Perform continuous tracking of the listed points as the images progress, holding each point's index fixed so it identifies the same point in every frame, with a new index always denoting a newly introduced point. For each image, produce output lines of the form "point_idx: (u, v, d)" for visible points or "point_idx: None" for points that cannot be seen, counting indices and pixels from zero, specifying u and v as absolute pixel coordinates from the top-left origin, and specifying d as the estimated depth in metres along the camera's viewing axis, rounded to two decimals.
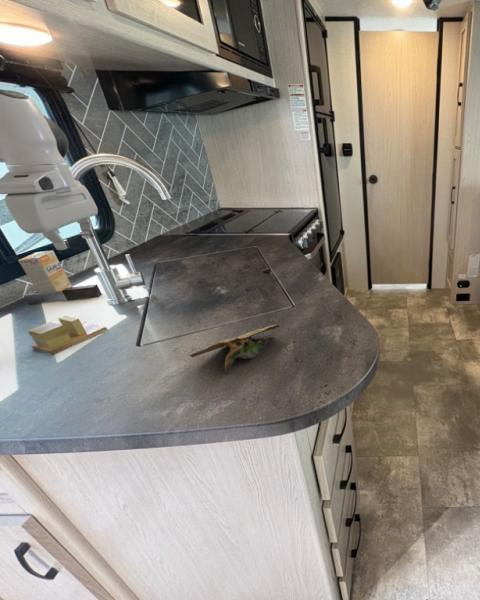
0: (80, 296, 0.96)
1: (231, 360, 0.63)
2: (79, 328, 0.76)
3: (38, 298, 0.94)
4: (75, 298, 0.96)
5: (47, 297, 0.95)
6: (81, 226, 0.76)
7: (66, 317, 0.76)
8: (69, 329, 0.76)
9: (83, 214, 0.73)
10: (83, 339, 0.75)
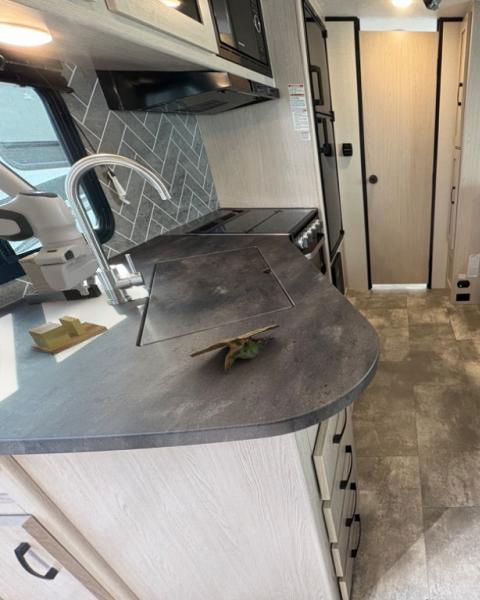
0: (80, 296, 0.96)
1: (231, 360, 0.63)
2: (79, 328, 0.76)
3: (38, 298, 0.94)
4: (75, 298, 0.96)
5: (47, 297, 0.95)
6: (87, 281, 0.98)
7: (66, 317, 0.76)
8: (69, 329, 0.76)
9: (94, 270, 0.98)
10: (83, 339, 0.75)
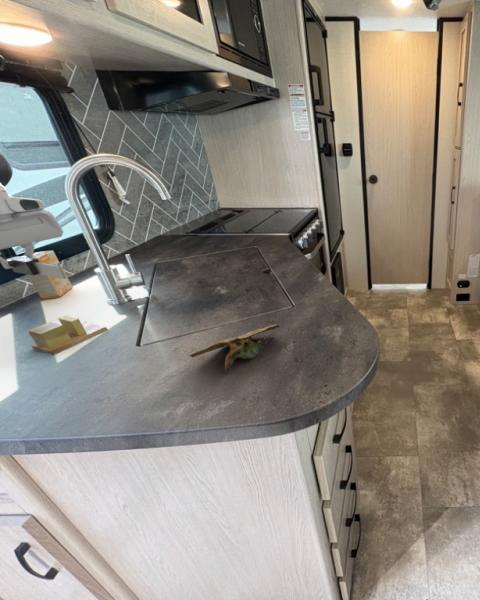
0: None
1: (231, 360, 0.63)
2: (79, 328, 0.76)
3: None
4: None
5: None
6: None
7: (66, 317, 0.76)
8: (69, 329, 0.76)
9: None
10: (83, 339, 0.75)
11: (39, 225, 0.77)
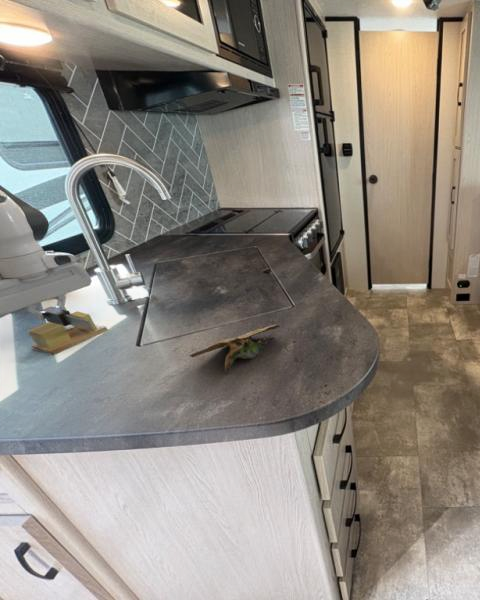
0: None
1: (231, 360, 0.63)
2: None
3: None
4: None
5: None
6: None
7: (77, 313, 0.78)
8: None
9: None
10: (83, 339, 0.75)
11: (71, 277, 0.82)
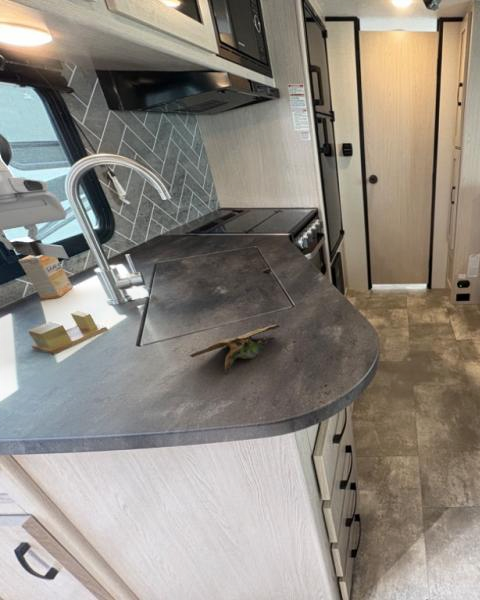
0: None
1: (231, 360, 0.63)
2: (90, 323, 0.77)
3: None
4: None
5: None
6: None
7: (78, 312, 0.78)
8: (81, 324, 0.78)
9: None
10: (83, 339, 0.75)
11: (43, 207, 0.77)
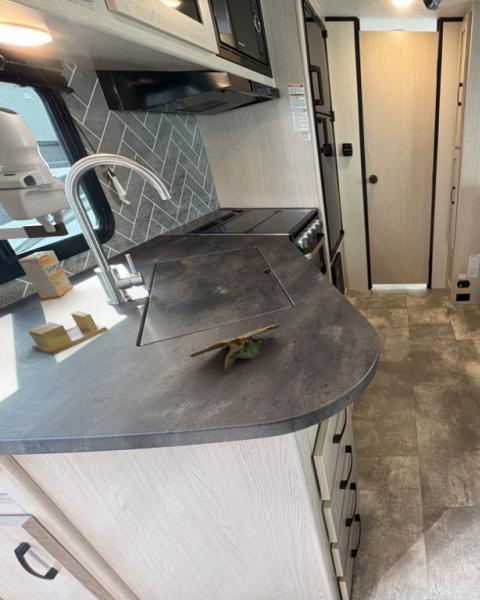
0: (43, 234, 0.87)
1: (231, 360, 0.63)
2: (90, 323, 0.77)
3: None
4: (38, 236, 0.87)
5: (6, 233, 0.85)
6: (54, 218, 0.89)
7: (78, 312, 0.78)
8: (81, 324, 0.78)
9: (62, 206, 0.89)
10: (83, 339, 0.75)
11: None
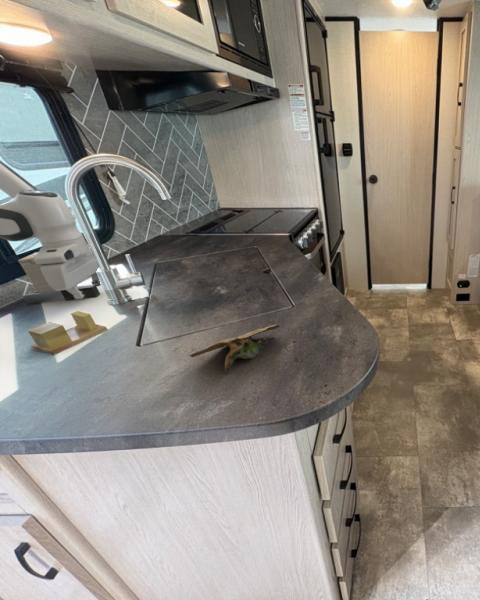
0: None
1: (231, 360, 0.63)
2: (90, 323, 0.77)
3: (37, 298, 0.94)
4: (74, 298, 0.96)
5: (46, 297, 0.95)
6: (92, 277, 1.00)
7: (78, 312, 0.78)
8: (81, 324, 0.78)
9: (94, 269, 0.98)
10: (83, 339, 0.75)
11: None
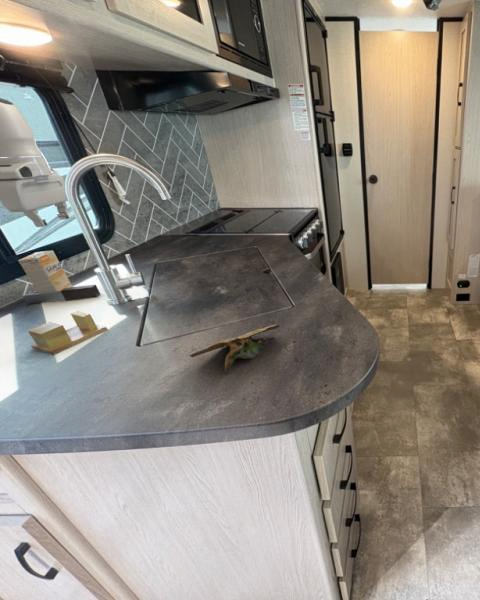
0: (78, 296, 0.96)
1: (231, 360, 0.63)
2: (90, 323, 0.77)
3: (37, 298, 0.94)
4: (74, 298, 0.96)
5: (46, 297, 0.95)
6: (58, 209, 0.91)
7: (78, 312, 0.78)
8: (81, 324, 0.78)
9: (59, 199, 0.88)
10: (83, 339, 0.75)
11: None
